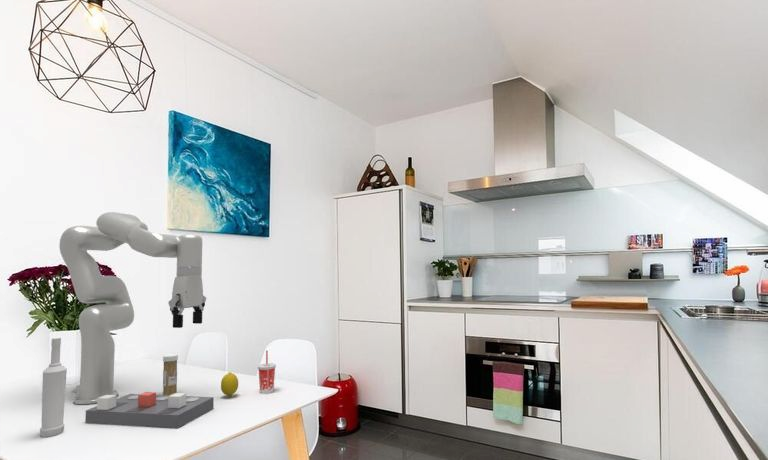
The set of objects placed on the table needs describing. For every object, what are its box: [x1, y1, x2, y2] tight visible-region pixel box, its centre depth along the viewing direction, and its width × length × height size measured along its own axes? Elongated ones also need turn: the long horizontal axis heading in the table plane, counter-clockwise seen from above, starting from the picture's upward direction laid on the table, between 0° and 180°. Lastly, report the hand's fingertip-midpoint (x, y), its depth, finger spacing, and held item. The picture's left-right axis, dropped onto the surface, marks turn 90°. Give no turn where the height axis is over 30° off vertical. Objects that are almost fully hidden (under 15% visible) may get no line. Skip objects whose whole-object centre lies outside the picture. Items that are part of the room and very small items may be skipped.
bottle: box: [39, 337, 68, 438], centre depth 113 cm, size 5×5×25 cm
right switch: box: [168, 392, 187, 408], centre depth 121 cm, size 4×3×3 cm
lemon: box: [220, 372, 239, 398], centre depth 141 cm, size 6×6×8 cm
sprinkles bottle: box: [162, 353, 179, 395], centre depth 146 cm, size 5×5×14 cm
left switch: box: [96, 395, 117, 410], centre depth 121 cm, size 4×3×3 cm
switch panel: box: [84, 393, 215, 429], centre depth 124 cm, size 30×16×4 cm, turn 78°
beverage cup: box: [257, 350, 277, 395], centre depth 146 cm, size 6×6×14 cm
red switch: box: [138, 391, 157, 407], centre depth 123 cm, size 4×3×3 cm
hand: (187, 325), depth 136 cm, fingers open, 9 cm apart
